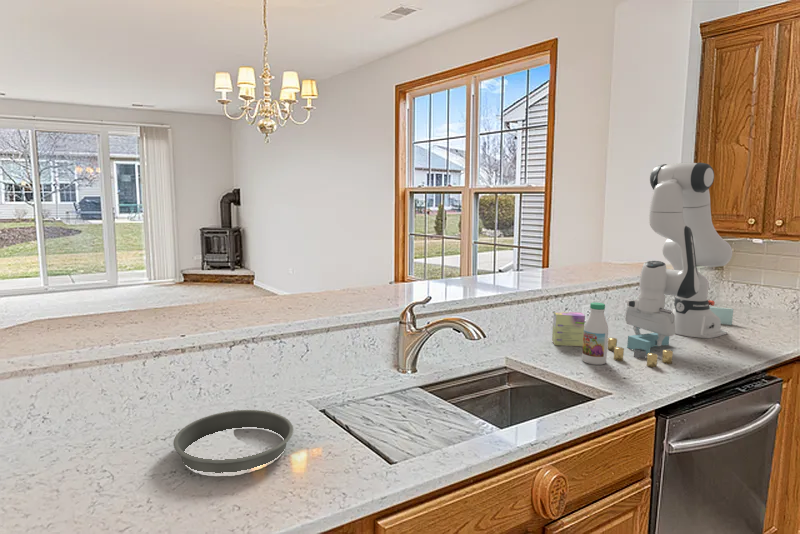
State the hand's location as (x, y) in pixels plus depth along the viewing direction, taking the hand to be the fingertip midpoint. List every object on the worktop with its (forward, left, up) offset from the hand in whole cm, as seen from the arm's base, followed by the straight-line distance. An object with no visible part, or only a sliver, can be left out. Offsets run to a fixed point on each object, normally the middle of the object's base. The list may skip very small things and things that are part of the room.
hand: (648, 341), depth 196 cm
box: (+27, -12, -2) cm, 30 cm away
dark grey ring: (+149, +31, -2) cm, 152 cm away
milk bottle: (+32, +8, -2) cm, 33 cm away
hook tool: (0, +3, -2) cm, 4 cm away
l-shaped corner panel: (-61, -21, -2) cm, 65 cm away
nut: (+13, +9, -2) cm, 16 cm away
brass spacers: (+16, +8, -2) cm, 18 cm away
